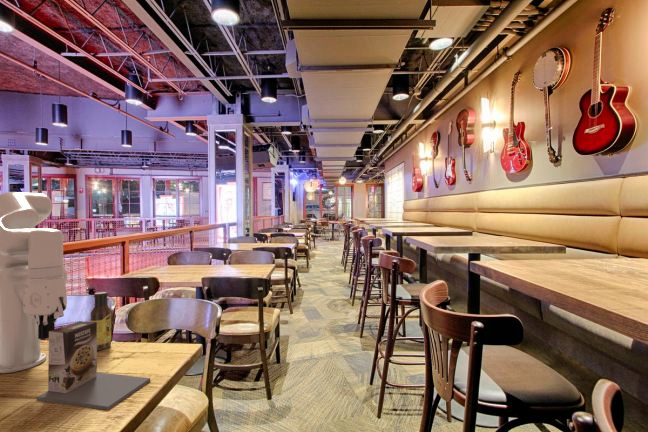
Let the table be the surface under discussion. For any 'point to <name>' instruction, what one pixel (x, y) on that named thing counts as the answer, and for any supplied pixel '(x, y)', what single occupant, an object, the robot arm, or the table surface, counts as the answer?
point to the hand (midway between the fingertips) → (46, 337)
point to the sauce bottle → (102, 320)
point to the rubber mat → (98, 391)
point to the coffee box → (72, 356)
